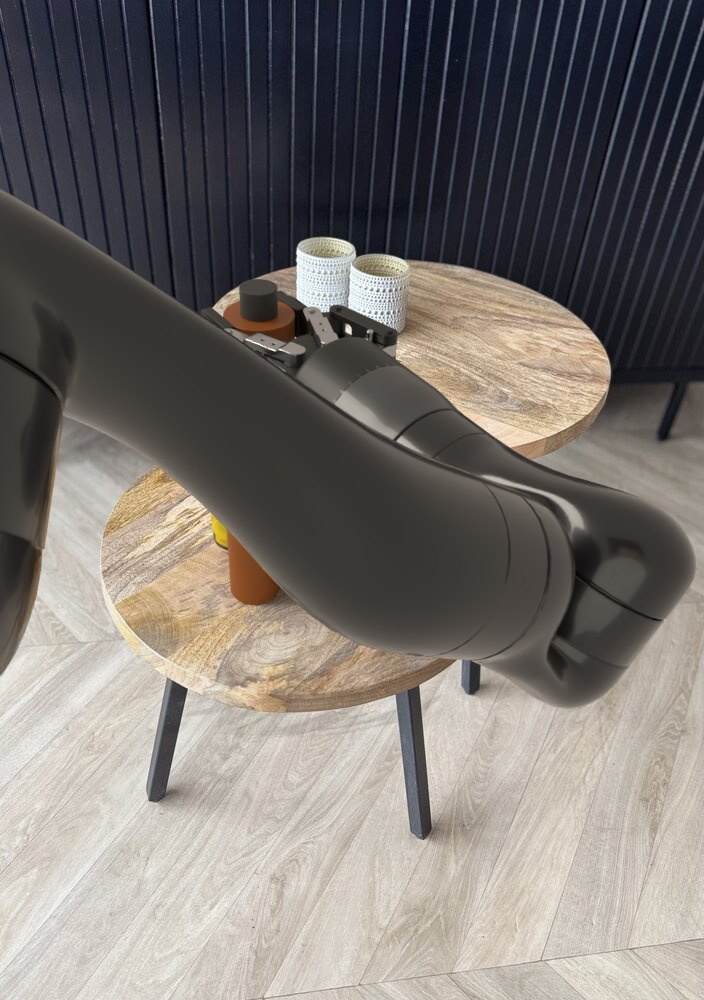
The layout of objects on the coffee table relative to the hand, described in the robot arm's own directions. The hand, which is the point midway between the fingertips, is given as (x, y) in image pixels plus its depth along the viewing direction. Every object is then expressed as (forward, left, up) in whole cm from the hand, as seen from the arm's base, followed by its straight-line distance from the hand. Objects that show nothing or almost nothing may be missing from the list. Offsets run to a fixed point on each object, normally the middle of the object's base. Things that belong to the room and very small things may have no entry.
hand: (241, 312), depth 58 cm
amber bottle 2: (+2, +4, -34) cm, 34 cm away
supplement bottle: (+4, +12, -34) cm, 36 cm away
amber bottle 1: (0, -3, -9) cm, 9 cm away
